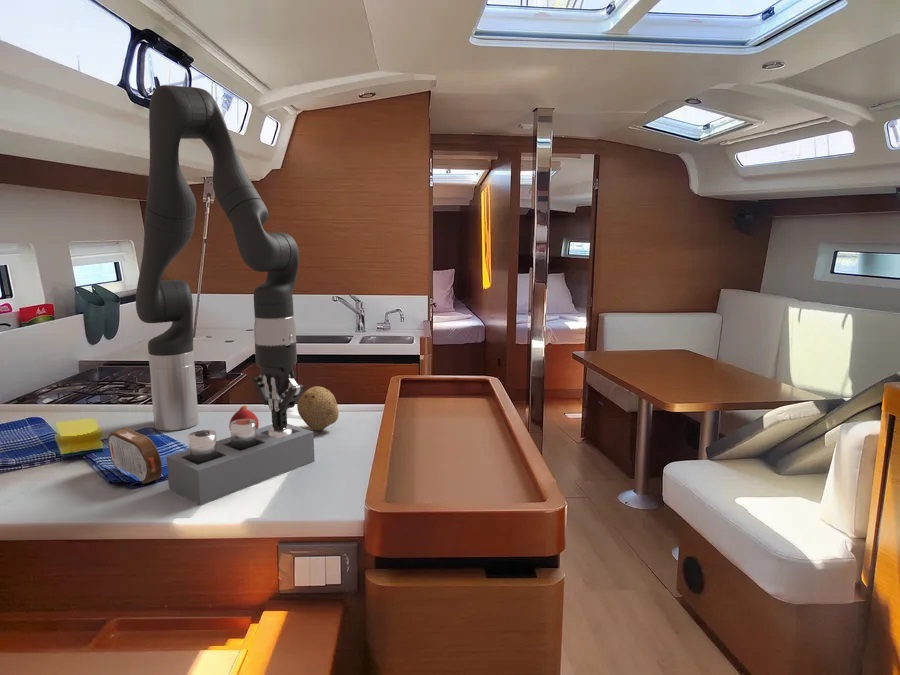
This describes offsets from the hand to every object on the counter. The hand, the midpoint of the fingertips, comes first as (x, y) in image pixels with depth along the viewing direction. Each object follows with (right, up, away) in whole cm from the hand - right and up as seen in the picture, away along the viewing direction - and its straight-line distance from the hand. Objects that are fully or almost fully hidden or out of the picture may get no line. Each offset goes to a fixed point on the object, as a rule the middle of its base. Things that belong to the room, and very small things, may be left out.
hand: (279, 428), depth 116 cm
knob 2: (0, -4, +1) cm, 4 cm away
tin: (-25, -8, -6) cm, 27 cm away
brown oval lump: (+3, -3, +20) cm, 21 cm away
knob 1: (-10, -3, -12) cm, 16 cm away
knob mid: (-5, -2, -6) cm, 8 cm away
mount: (-5, -8, -5) cm, 10 cm away
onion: (-11, -5, +12) cm, 17 cm away
